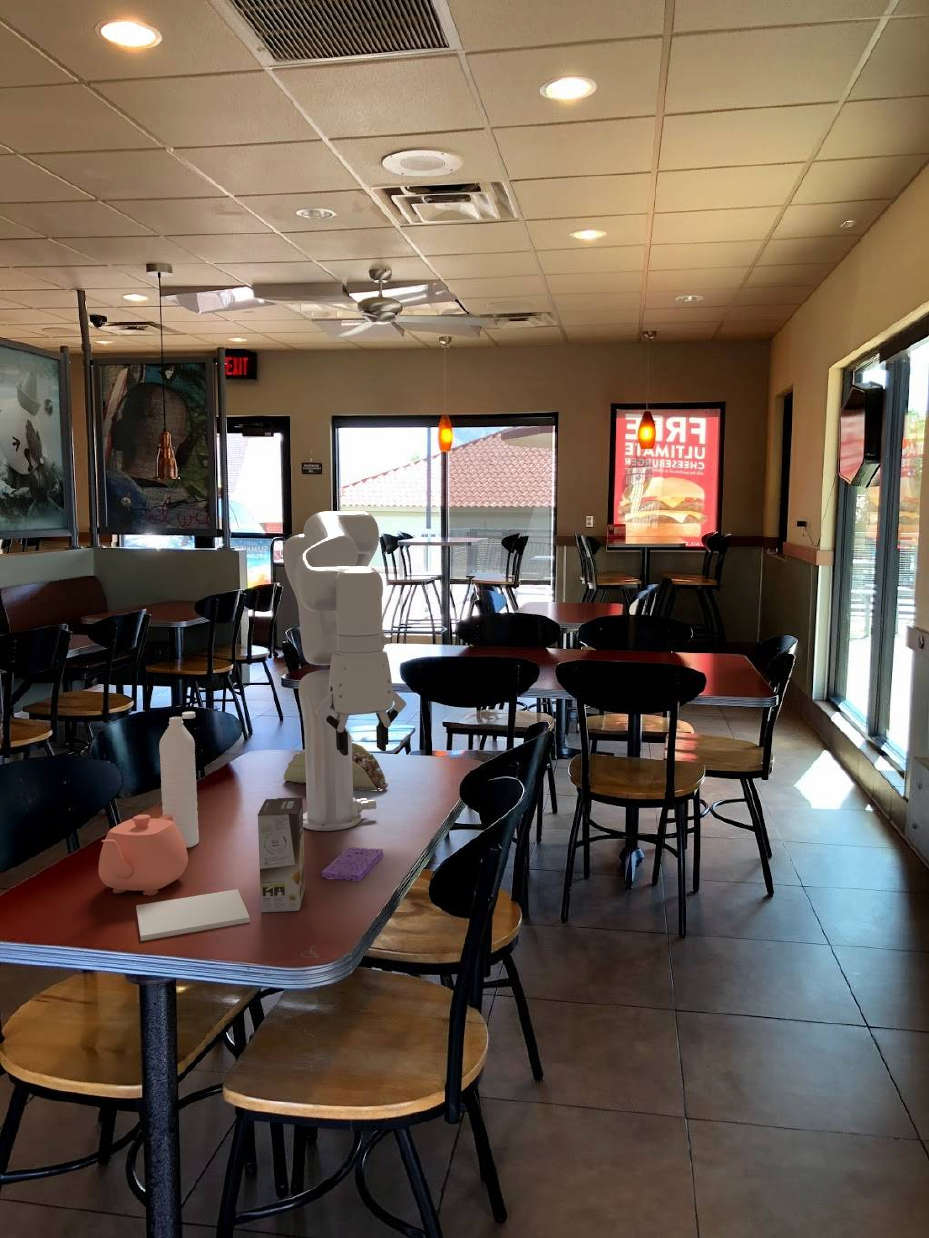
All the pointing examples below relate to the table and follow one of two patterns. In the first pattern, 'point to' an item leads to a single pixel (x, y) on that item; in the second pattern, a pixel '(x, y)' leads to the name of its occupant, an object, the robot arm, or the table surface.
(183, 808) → the water bottle
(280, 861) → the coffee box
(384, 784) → the taco
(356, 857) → the sponges
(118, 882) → the teapot
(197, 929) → the mat
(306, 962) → the table surface
